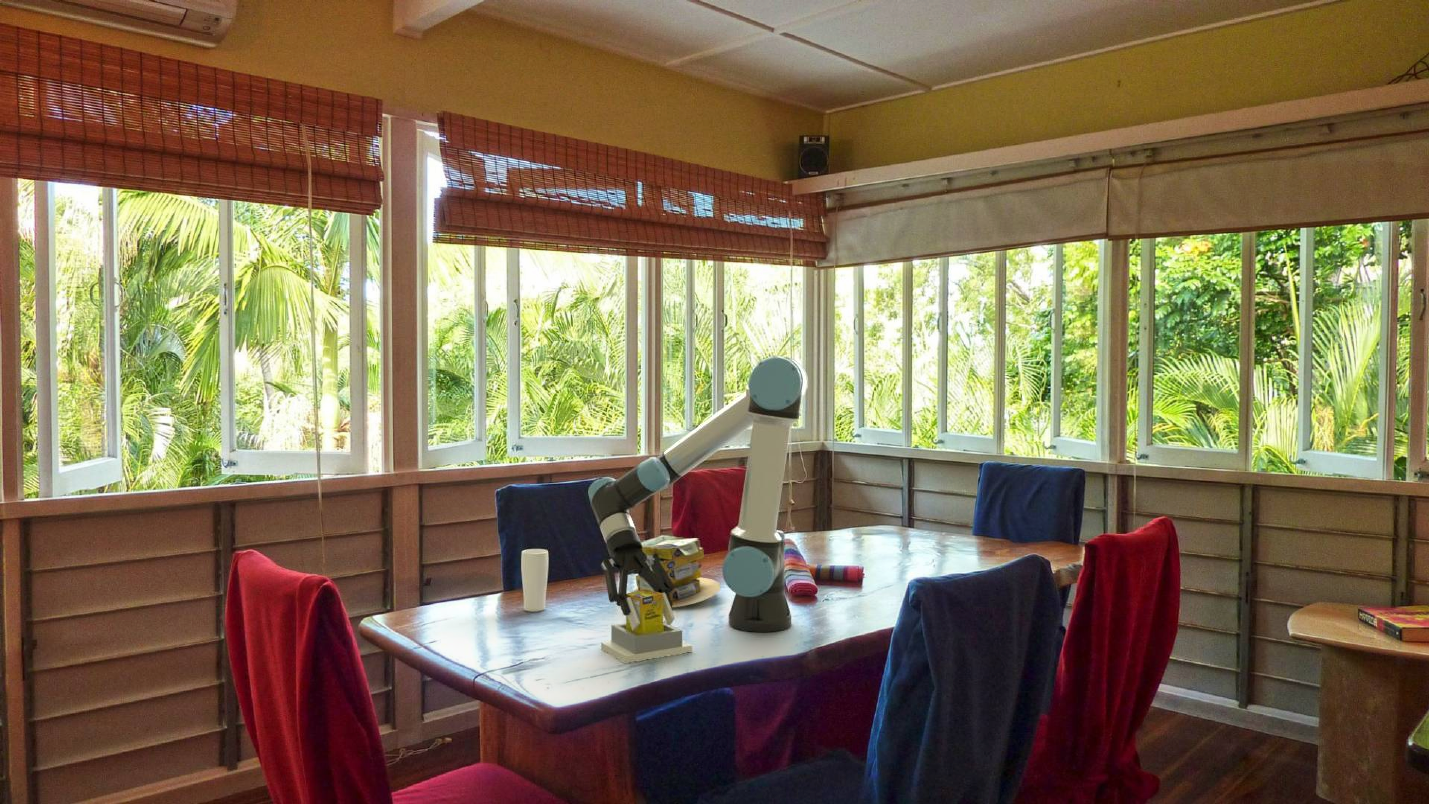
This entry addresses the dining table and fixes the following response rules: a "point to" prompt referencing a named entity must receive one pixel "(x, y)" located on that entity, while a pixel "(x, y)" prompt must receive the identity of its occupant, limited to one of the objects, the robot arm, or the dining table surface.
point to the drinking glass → (534, 578)
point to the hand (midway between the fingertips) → (653, 624)
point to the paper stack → (680, 569)
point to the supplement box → (647, 612)
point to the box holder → (644, 644)
